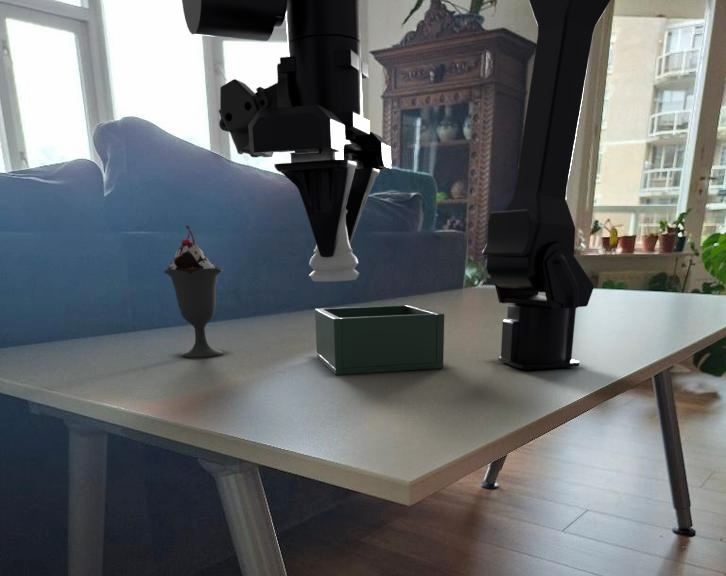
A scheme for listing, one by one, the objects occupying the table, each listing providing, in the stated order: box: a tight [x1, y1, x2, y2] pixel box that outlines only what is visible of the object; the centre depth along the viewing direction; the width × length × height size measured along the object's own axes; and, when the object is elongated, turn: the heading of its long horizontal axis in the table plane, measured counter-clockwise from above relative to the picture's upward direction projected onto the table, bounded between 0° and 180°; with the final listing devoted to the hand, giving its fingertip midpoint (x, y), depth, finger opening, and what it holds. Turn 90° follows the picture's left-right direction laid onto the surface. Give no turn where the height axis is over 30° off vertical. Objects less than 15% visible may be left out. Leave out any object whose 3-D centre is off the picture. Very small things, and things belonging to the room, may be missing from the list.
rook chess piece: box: [308, 209, 360, 283], centre depth 57 cm, size 4×4×8 cm
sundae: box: [164, 224, 224, 359], centre depth 80 cm, size 7×7×15 cm
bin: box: [314, 304, 445, 376], centre depth 73 cm, size 12×12×6 cm
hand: (334, 255), depth 58 cm, fingers closed on rook chess piece, 3 cm apart
